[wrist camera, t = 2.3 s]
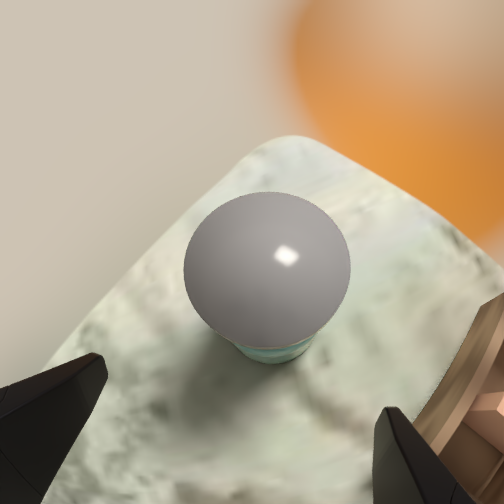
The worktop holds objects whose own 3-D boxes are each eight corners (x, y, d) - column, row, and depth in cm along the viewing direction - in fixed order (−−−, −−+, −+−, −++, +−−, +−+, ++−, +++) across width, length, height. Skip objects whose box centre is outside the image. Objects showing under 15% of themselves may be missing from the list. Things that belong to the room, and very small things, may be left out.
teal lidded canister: (234, 376, 20) (196, 362, 11) (217, 285, 23) (176, 211, 14) (331, 352, 20) (372, 319, 11) (306, 264, 23) (320, 179, 14)
